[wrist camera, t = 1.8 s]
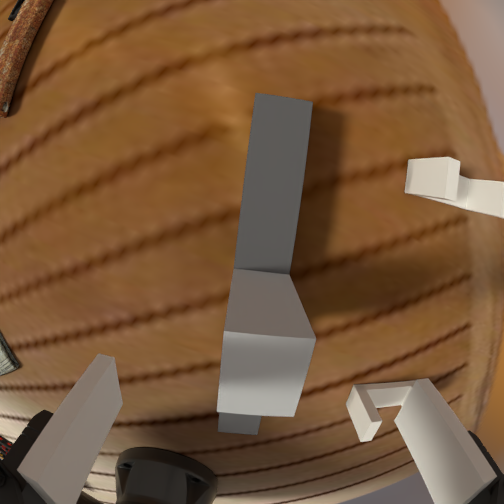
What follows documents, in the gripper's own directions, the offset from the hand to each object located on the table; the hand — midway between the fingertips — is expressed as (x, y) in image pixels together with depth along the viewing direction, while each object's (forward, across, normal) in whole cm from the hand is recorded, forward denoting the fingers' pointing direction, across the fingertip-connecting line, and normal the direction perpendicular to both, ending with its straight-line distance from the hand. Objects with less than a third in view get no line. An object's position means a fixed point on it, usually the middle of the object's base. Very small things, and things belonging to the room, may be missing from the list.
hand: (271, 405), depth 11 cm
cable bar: (+14, 0, 0) cm, 14 cm away
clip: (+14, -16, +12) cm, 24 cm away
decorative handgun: (+15, +34, -29) cm, 47 cm away
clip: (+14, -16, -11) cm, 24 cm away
